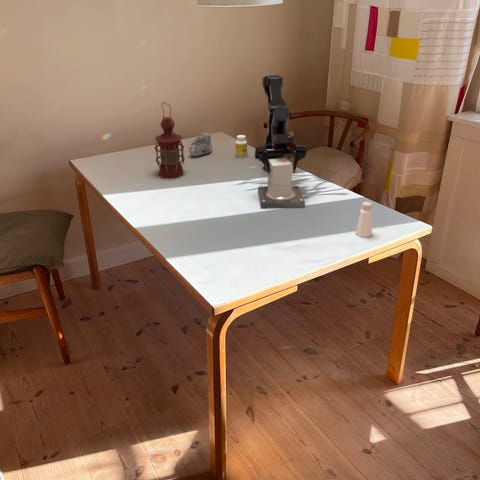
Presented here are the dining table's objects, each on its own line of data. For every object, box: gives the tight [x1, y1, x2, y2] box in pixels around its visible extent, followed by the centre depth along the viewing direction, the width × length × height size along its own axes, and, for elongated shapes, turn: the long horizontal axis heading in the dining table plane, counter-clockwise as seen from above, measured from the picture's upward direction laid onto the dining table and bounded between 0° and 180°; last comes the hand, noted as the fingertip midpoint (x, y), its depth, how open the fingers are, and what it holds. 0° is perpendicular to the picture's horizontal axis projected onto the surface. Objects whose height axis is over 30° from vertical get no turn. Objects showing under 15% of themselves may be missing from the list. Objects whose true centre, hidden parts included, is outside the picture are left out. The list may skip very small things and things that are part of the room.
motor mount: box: [257, 184, 306, 209], centre depth 196 cm, size 16×16×3 cm
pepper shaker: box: [355, 201, 373, 238], centre depth 168 cm, size 5×5×11 cm
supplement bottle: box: [234, 134, 248, 159], centre depth 239 cm, size 5×5×10 cm
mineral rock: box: [188, 132, 213, 157], centre depth 242 cm, size 13×11×10 cm
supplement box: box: [267, 157, 293, 198], centre depth 193 cm, size 7×7×13 cm
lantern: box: [154, 101, 185, 179], centre depth 214 cm, size 12×12×30 cm
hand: (281, 173), depth 190 cm, fingers open, 9 cm apart
